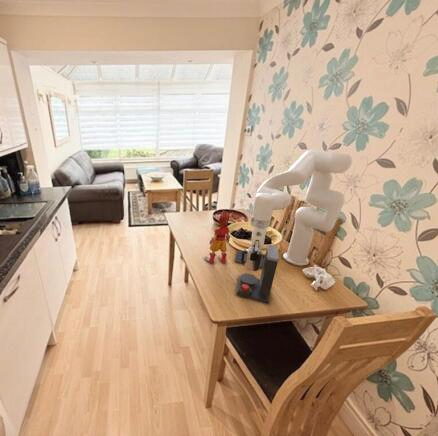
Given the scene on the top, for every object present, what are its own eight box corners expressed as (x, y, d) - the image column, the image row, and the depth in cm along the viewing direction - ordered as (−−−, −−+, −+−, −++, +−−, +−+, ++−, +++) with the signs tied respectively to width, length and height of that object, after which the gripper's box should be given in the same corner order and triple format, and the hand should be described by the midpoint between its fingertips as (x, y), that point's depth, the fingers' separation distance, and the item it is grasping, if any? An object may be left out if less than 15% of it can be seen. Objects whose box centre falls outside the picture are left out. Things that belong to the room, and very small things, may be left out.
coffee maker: (239, 276, 122) (240, 271, 120) (267, 283, 117) (268, 278, 115) (236, 296, 109) (237, 290, 108) (267, 304, 104) (269, 299, 103)
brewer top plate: (237, 250, 145) (237, 249, 145) (262, 255, 140) (263, 254, 139) (235, 262, 133) (235, 261, 133) (262, 268, 128) (262, 267, 128)
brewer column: (240, 272, 120) (246, 239, 112) (269, 279, 115) (277, 245, 107) (238, 287, 110) (244, 252, 102) (269, 295, 105) (278, 259, 97)
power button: (241, 286, 111) (242, 283, 110) (248, 288, 110) (249, 285, 109) (241, 290, 108) (241, 287, 108) (248, 292, 107) (248, 289, 106)
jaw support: (343, 289, 108) (330, 275, 107) (324, 298, 112) (311, 285, 110) (330, 273, 119) (318, 260, 117) (313, 282, 122) (301, 270, 121)
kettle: (240, 260, 117) (244, 241, 113) (259, 264, 114) (263, 244, 110) (239, 271, 110) (242, 250, 106) (259, 275, 107) (263, 254, 102)
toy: (221, 254, 141) (227, 207, 129) (230, 262, 133) (238, 213, 121) (203, 257, 138) (208, 209, 126) (211, 266, 130) (217, 216, 118)
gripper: (270, 231, 94) (262, 268, 102) (269, 215, 109) (263, 248, 116) (250, 228, 97) (243, 264, 105) (252, 212, 111) (246, 245, 119)
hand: (253, 256), depth 110 cm, fingers closed on kettle, 6 cm apart
